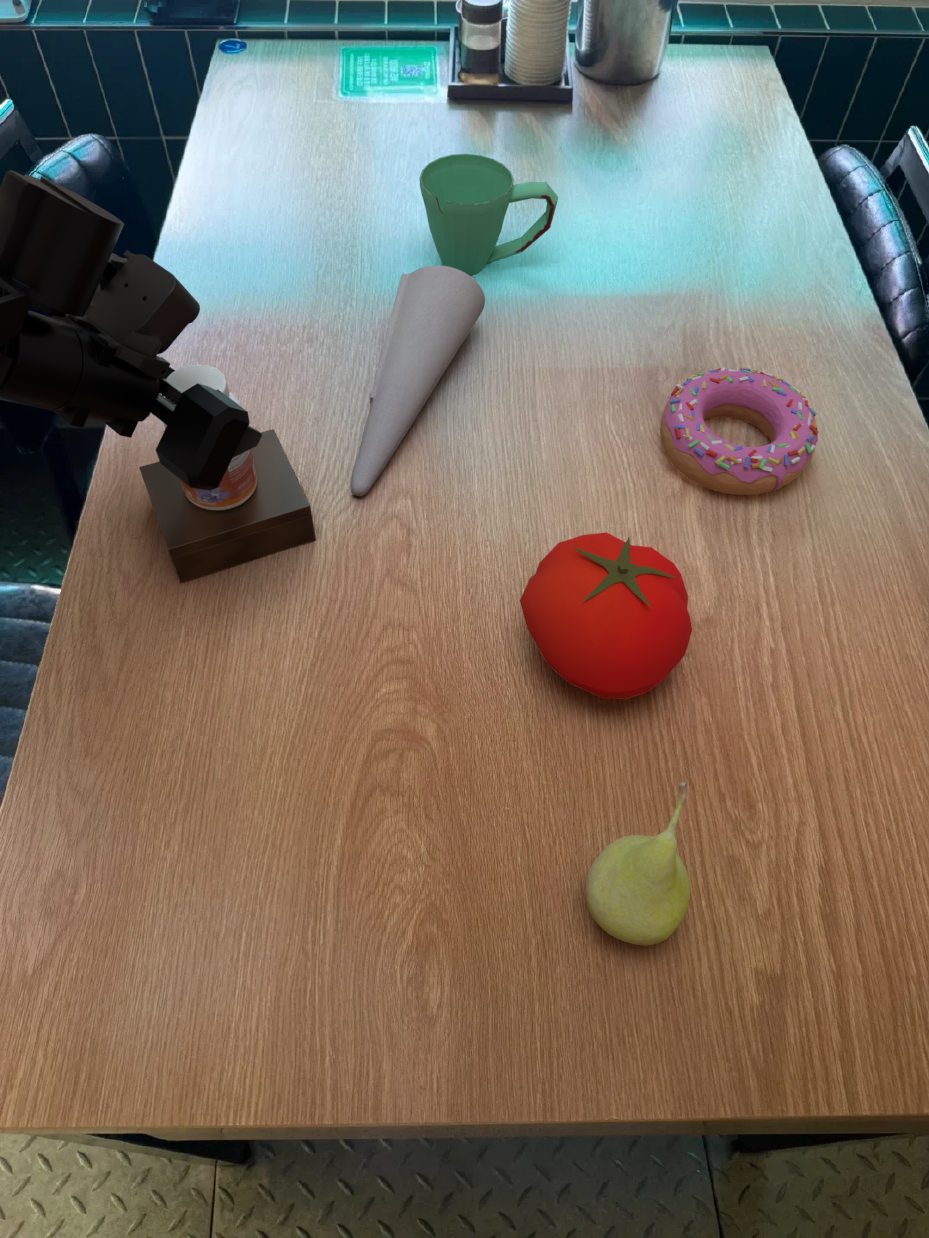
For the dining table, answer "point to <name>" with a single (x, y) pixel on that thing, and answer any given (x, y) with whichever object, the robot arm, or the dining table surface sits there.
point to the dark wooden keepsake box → (232, 516)
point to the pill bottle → (241, 468)
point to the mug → (477, 209)
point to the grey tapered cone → (414, 359)
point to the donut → (749, 401)
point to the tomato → (608, 615)
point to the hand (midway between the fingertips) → (220, 410)
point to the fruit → (640, 885)
